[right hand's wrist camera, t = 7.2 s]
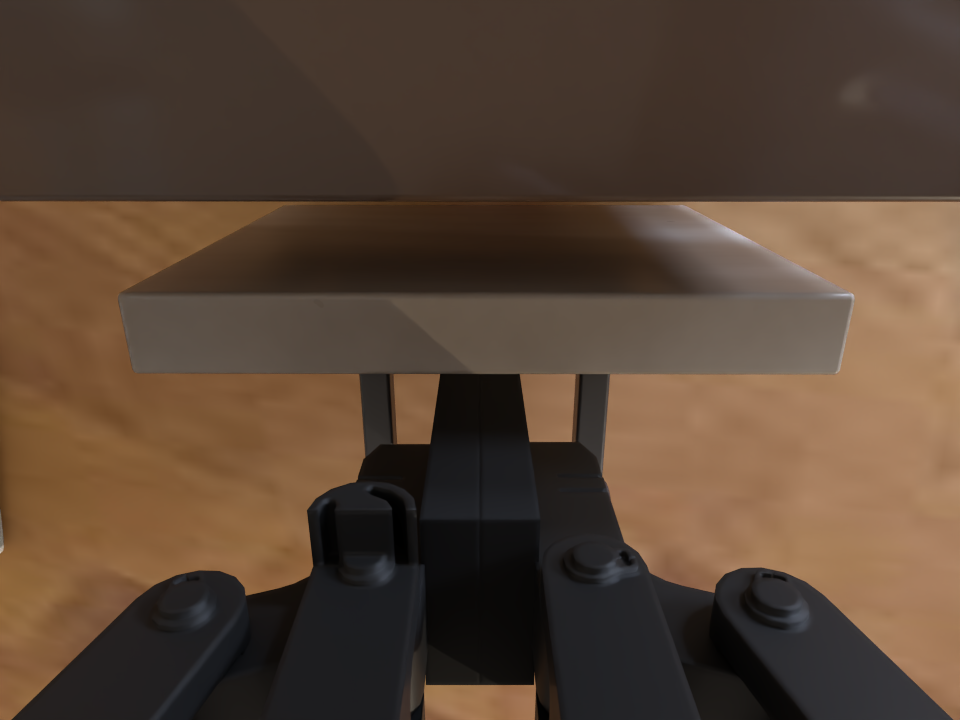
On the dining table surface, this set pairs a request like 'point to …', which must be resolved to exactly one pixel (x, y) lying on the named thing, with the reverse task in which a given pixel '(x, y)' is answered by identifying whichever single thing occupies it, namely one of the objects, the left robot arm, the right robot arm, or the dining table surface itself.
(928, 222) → the dining table surface
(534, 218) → the drawer
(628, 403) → the dining table surface
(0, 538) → the hard drive box
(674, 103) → the cabinet
